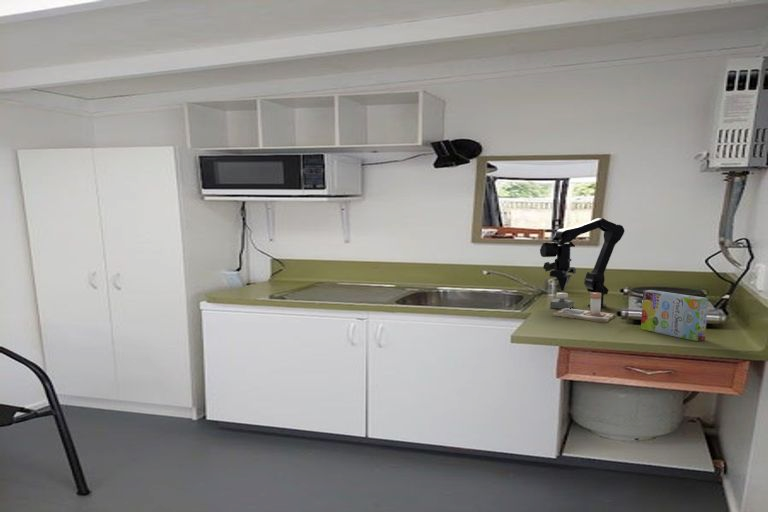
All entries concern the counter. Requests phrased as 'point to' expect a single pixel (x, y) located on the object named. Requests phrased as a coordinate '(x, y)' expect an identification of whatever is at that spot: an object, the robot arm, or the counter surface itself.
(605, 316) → the picture board
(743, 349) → the counter surface
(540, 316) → the counter surface
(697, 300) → the snack box
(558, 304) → the button base
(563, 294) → the button
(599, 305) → the orange topped white container
